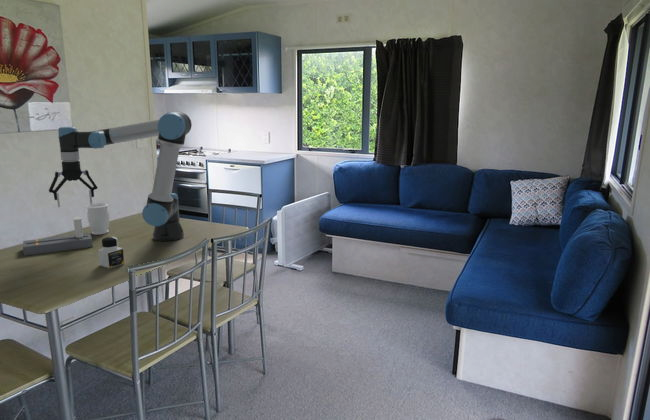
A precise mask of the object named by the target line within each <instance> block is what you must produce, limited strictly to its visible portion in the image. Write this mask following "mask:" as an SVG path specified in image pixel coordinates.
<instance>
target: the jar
mask: <svg viewBox="0 0 650 420" xmlns="http://www.w3.org/2000/svg"><path fill="white" fill-rule="evenodd" d="M86 209H87V211H86V212H87V213H86V215H87V217H86V218H87V222H88V224H89V225H88V226H89V228H90V229H91V233H90V234H91V235H96V236H97V235H98V236H99V235H104V234H108V233H109V231H110V230H109V226H110V216H111V215H110V211H109V203H106V202H105V203H103V202H96V203H92V204H90V203H89V204H87V205H86Z"/></svg>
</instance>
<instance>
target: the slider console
mask: <svg viewBox="0 0 650 420" xmlns="http://www.w3.org/2000/svg"><path fill="white" fill-rule="evenodd" d="M93 246H94V245H93V238H92V234H91V233H90V232H87V233H83V237H81V238H76V236H75V234H71V235H63V236H62V235H61V236H54V237H46V238H35V239H30V240H23V241H22V251H23V256H32V255H40V254H48V253H55V252H62V251H64V252H65V251H70V250H76V249H78V250H79V249H85V248H92V247H93Z"/></svg>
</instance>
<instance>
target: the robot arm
mask: <svg viewBox="0 0 650 420" xmlns="http://www.w3.org/2000/svg"><path fill="white" fill-rule="evenodd" d="M192 125H193V124H192V120H191V118H190V117H189V115H188V114H186V113H185V112H182V111H174V112H173V111H170V112H169V111H168V112H166V113H164V114H163V115H162V116H161V117H160V118H158V119H155V120H149V121H144V122H138V123H133V124H126V125H122V126H121V125H120V126H117V127H115V126H114V127H110V128H104V129H98V130H93V131H78V129H77V127H76V126H62V127H58V130H57V131H58V134H57V135H58V143H59V149H60V160H61V168H62V170H61V171H55V172H54V177H53V180H52V182H51V185H49V189H48V193H51V194H53V199H54V201H57V208H60V207H61V204H60V195H59V194H60V193H59V192H58V191H59V190H60V189H61V188H62V187H63V186H64V184H65V183H66V182H67V181H68V182H72V181H78V180H79V181H80V182H81V183H82V184H83V185H85V186H86V187H87V188H88V189H89V190H88V195H89V205H90V204H93V198H95V191H96V190H97V189H98V186H97V184H96V183H95V181H94V180H93V179H92V177H91V176H90V173H89V171H88V169H85V170H82V169H81V161H80V152H79V151H80V150H79V149H94V150H95V149H103V148H104V147H105V146H108V145H114V144H119V143H125V142H130V141H136V140H142V139H143V140H144V139H148V138H154V137H157V139H158V141H159V142H160V147H159V152H158V157H157V163H156V168H155V173H154V174H155V175H154V179H153V180H154V181H153V186H152V192H150V193H148V195H147V200H146V203H145V204H146V205H144V207H143V209H142V212H141V214H142V219H143V220H144V221H145V222H146V223H147V225H150V226H152V227H154V228H153V232H152V239H153V240H155V241H158V242H170V241H176V240H180V238H181V239H182V238H184V237H183V236H184V233H185V232H184V228H182V225H181V223H180V211H179V209H180V208H179V196H178V194H177V193H176V192H175V193H173V191H172V190H173V186H174V181H175V175H176V170H177V164H178V159H179V155H180V148H181V147H182V146H184V145H185V140H186V136H187V135H188V134H189V133H190V131H191V129H192ZM61 175H62V177H63V178H62V180H61V181H60V182H59V183H58V184H57V186H56V183H57V181H58V179H59V177H61ZM82 175H84V176H86V178H87V179H88V181H89V182H90V183H91V185H90V184H89V183H88V182H87V181H85V180H84V178H83V177H82ZM55 186H56V187H55Z"/></svg>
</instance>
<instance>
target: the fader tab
mask: <svg viewBox="0 0 650 420" xmlns="http://www.w3.org/2000/svg"><path fill="white" fill-rule="evenodd" d="M72 219H73V227H74V235H75V236H76V238H81V237H83V234H84V233H83V225H82V224H83V223H82V217H81V216H73V217H72Z"/></svg>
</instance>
